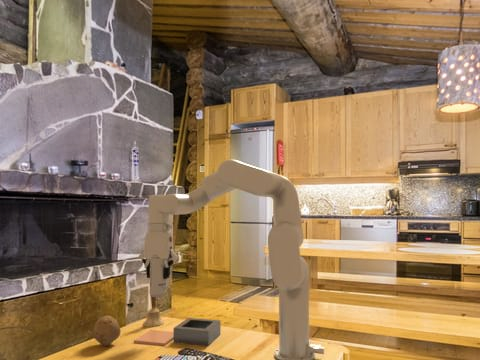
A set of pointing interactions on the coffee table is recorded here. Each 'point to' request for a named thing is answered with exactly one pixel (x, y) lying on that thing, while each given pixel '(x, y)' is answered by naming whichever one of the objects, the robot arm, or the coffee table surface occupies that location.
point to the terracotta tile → (155, 337)
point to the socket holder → (197, 331)
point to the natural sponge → (106, 330)
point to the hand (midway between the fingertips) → (158, 277)
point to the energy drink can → (157, 277)
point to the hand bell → (153, 316)
